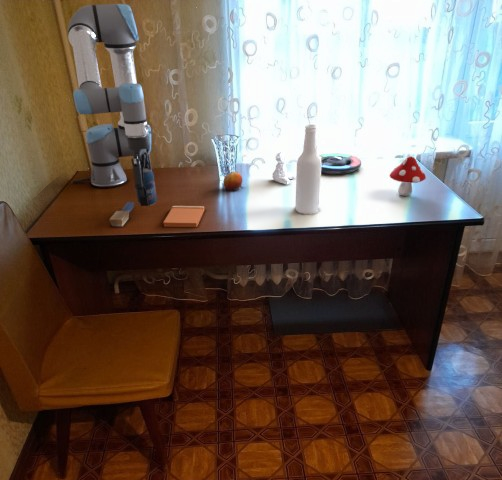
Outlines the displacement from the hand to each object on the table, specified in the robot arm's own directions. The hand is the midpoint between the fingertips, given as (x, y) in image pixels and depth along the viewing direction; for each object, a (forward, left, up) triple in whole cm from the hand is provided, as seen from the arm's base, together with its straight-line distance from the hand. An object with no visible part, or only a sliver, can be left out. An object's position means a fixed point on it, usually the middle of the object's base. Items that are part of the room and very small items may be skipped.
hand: (147, 201), depth 175 cm
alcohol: (+58, +10, -6) cm, 59 cm away
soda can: (0, 0, -1) cm, 1 cm away
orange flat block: (+13, 0, -6) cm, 15 cm away
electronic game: (+71, +62, -6) cm, 95 cm away
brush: (-10, 0, -6) cm, 12 cm away
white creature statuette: (+47, +43, -6) cm, 64 cm away
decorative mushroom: (+97, +28, -6) cm, 101 cm away
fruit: (+27, +32, -6) cm, 43 cm away
